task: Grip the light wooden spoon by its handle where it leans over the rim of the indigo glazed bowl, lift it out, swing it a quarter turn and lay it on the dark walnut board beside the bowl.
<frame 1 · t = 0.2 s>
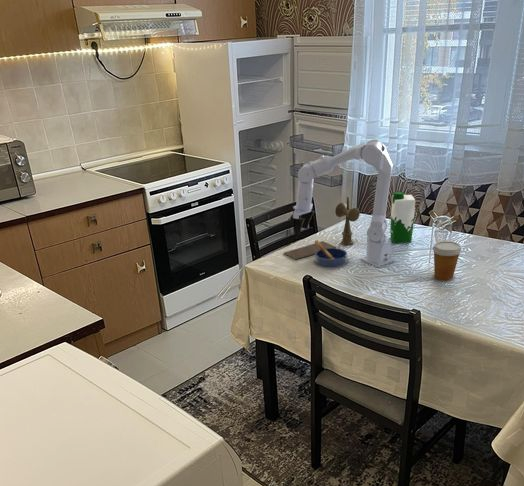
hand: (300, 230, 214), 10 cm above the table, tool pointing down, fingers open, 7 cm apart
disposable coffee cup: (443, 277, 194), on the table
bowl: (331, 262, 212), on the table
kendama: (346, 244, 227), on the table
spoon: (335, 262, 210), point 1 cm above the table, touching bowl
board: (310, 252, 222), on the table
milk carton: (400, 240, 228), on the table
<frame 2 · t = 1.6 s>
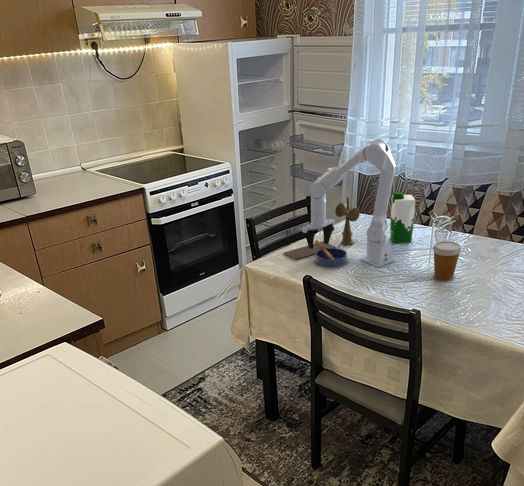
hand: (318, 245, 216), 4 cm above the table, tool pointing down, fingers open, 7 cm apart
nothing on the table moved.
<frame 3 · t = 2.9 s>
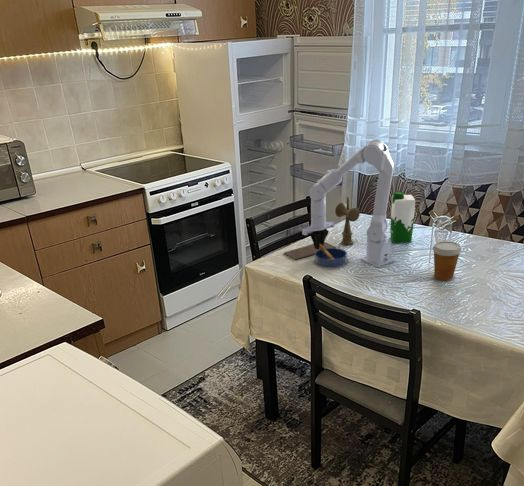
hand: (318, 248, 216), 3 cm above the table, tool pointing down, fingers closed on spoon
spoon: (335, 262, 210), point 1 cm above the table, touching bowl, gripper
everything else where it was.
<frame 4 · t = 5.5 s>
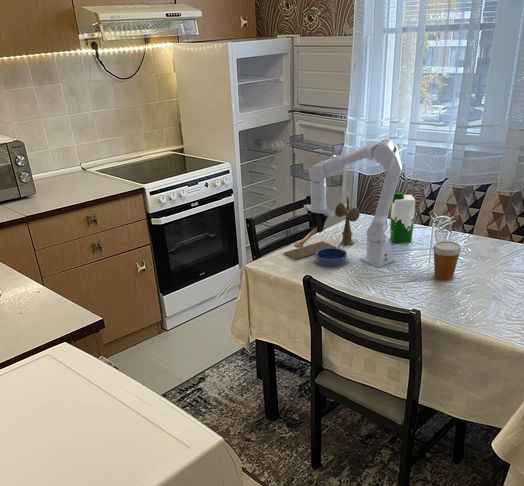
hand: (318, 231, 212), 10 cm above the table, tool pointing down, fingers closed on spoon
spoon: (298, 246, 208), point 7 cm above the table, touching gripper
everything else where it was.
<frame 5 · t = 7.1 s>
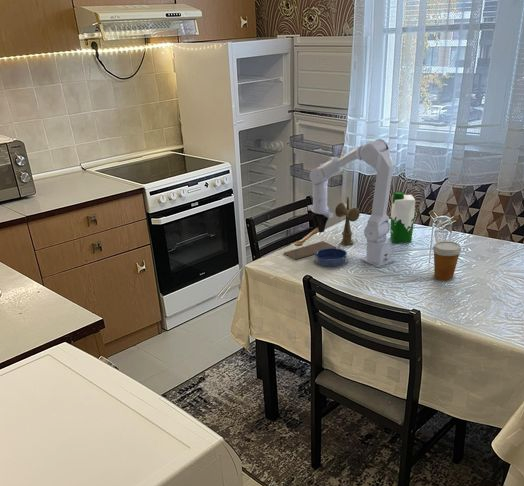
hand: (320, 231, 221), 8 cm above the table, tool pointing down, fingers closed on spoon
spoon: (298, 244, 218), point 5 cm above the table, touching gripper
everything else where it was.
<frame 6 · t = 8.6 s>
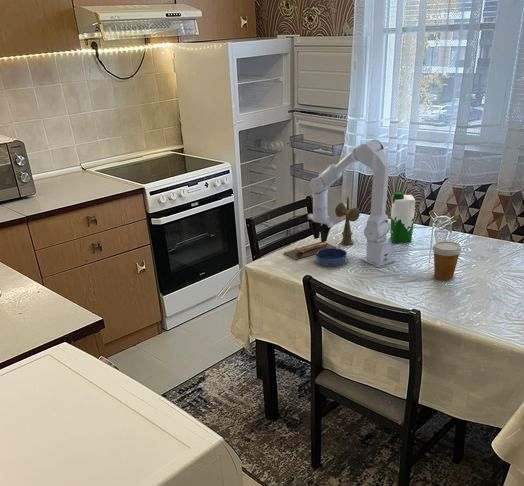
hand: (320, 239, 222), 4 cm above the table, tool pointing down, fingers open, 4 cm apart
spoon: (299, 251, 219), point 2 cm above the table, tilted 25°, touching board
everything else where it was.
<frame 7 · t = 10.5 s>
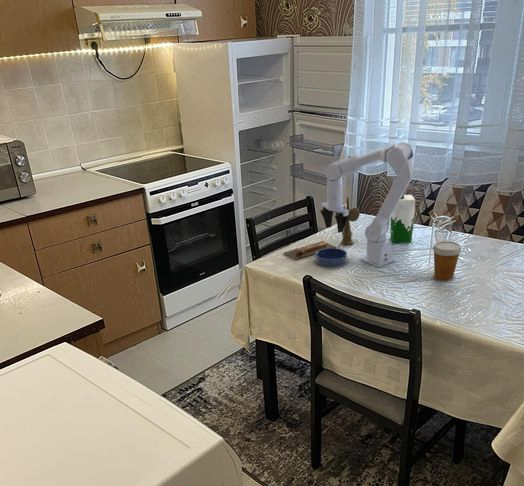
hand: (334, 229, 213), 10 cm above the table, tool pointing down, fingers open, 7 cm apart
nothing on the table moved.
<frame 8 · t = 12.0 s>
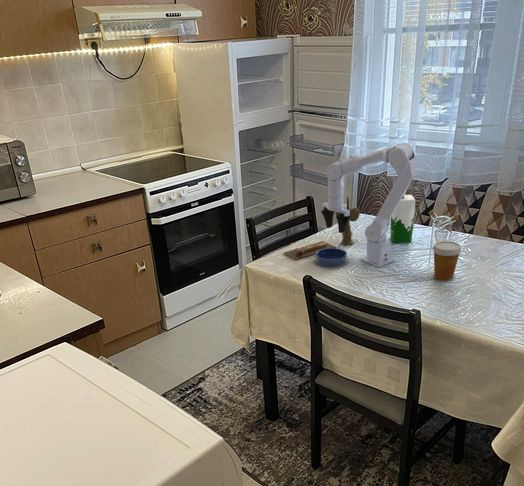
hand: (335, 229, 213), 10 cm above the table, tool pointing down, fingers open, 7 cm apart
nothing on the table moved.
at the end: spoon inside the target area on the board (5.3 cm from its centre), point 1.8 cm above the board's base; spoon touching board; the gripper is holding nothing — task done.
